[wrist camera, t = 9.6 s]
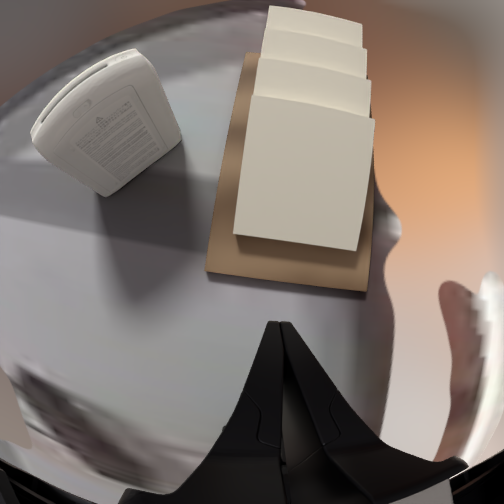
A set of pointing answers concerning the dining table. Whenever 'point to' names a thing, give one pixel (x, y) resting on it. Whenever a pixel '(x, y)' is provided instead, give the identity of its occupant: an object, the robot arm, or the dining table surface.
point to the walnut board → (271, 250)
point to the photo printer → (108, 123)
